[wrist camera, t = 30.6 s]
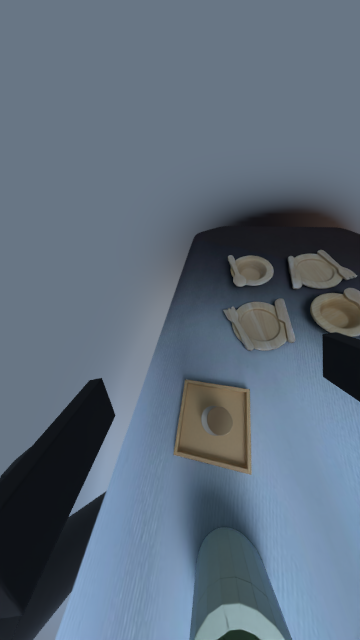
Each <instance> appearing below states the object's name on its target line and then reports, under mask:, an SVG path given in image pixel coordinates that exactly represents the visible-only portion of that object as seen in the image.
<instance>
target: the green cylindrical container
mask: <svg viewBox="0 0 360 640" xmlns="http://www.w3.org/2000/svg"><path fill="white" fill-rule="evenodd" d="M190 640H292V638H291V635H290V633H289V630H288V627H287V625H286V622H285V620H284V617H283V614H282V612H281V609H280V606H279V604H278V601H277V598H276V596H275V593H274V590H273V588H272V585H271V582H270V580H269V577H268V574H267V572H266V569H265V567H264V565H263V562H262V560H261V558H260V556H259V554H258V552H257V550H256V549H255V547H254V546H253V544H252V543H251V542H250V541H249V540H248V539H247V538H246V537H245V536H244V535H243V534H242V533H240V532H239V531H237V530H235V529H232V528H228V527H222V528H218V529H215V530H213V531H212V532H211V533H209V534H208V535H207V537H206V538H205V539H204V541H203V543H202V545H201V547H200V550H199V553H198V557H197V562H196V573H195V584H194V595H193V607H192V618H191V629H190Z"/></svg>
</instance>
